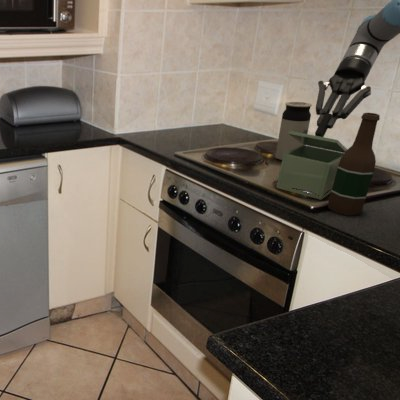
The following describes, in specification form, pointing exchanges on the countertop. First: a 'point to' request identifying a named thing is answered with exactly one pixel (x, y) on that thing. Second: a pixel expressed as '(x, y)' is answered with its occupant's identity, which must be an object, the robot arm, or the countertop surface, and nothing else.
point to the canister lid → (318, 141)
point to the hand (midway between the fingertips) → (318, 136)
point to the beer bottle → (355, 170)
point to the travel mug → (292, 126)
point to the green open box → (309, 171)
